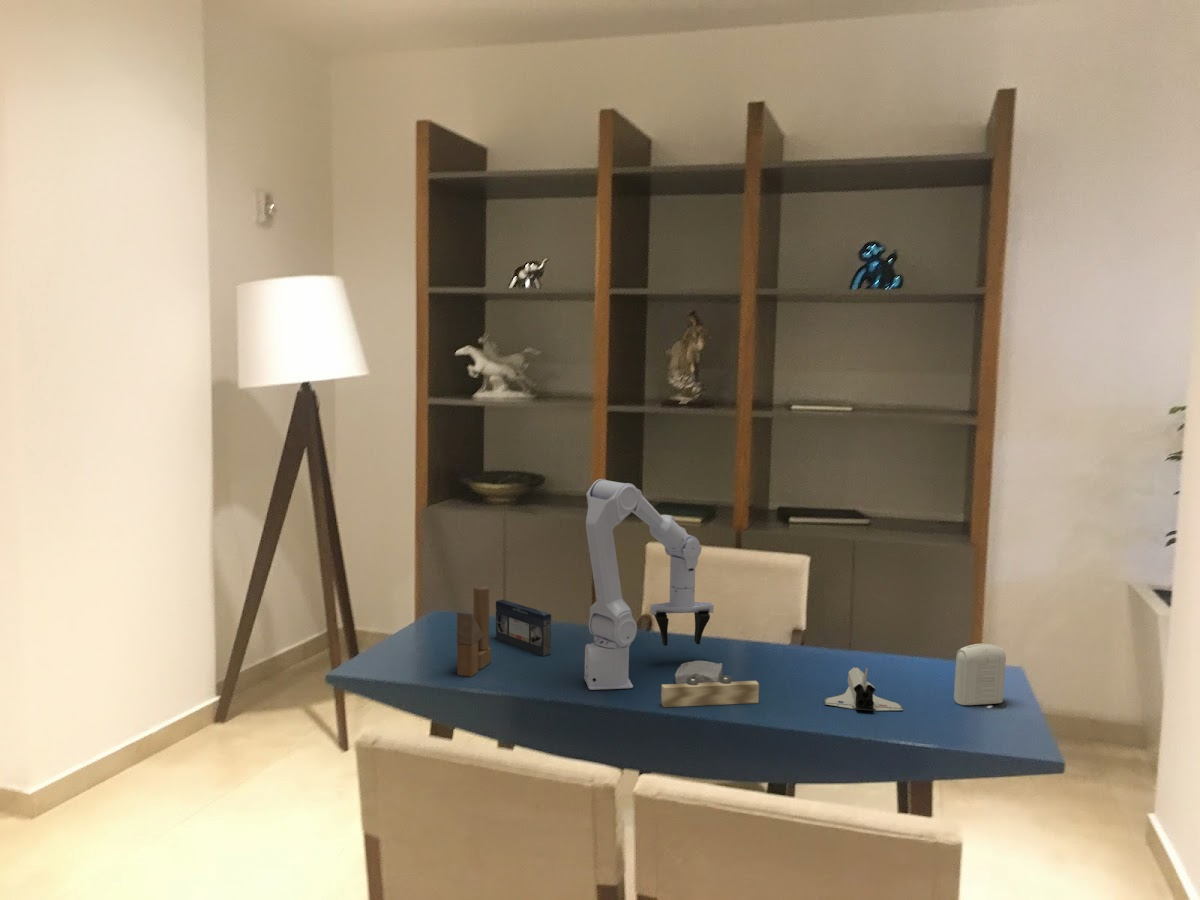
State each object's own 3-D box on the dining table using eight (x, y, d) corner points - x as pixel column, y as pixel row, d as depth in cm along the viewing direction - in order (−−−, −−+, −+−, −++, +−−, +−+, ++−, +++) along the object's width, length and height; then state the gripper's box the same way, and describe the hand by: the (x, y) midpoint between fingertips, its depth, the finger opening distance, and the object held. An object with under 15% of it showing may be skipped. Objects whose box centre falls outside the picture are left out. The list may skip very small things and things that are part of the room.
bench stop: (663, 707, 191) (663, 683, 190) (659, 701, 194) (660, 677, 193) (758, 702, 194) (759, 679, 194) (753, 697, 197) (754, 674, 197)
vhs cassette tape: (495, 639, 235) (495, 600, 234) (504, 637, 237) (504, 598, 236) (541, 657, 221) (542, 616, 220) (551, 655, 223) (552, 614, 222)
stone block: (675, 699, 201) (721, 693, 199) (671, 676, 201) (717, 671, 199) (681, 682, 213) (725, 677, 211) (677, 661, 213) (721, 656, 211)
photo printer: (993, 697, 200) (996, 640, 199) (1006, 704, 196) (1009, 646, 194) (950, 700, 197) (953, 642, 196) (962, 707, 193) (965, 648, 192)
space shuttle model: (888, 678, 212) (890, 635, 211) (905, 720, 187) (908, 671, 186) (818, 673, 214) (819, 630, 213) (825, 714, 190) (827, 665, 189)
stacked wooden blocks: (456, 675, 208) (456, 595, 206) (477, 660, 218) (477, 584, 216) (471, 677, 207) (472, 596, 205) (491, 662, 217) (492, 585, 215)
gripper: (708, 580, 221) (706, 637, 222) (647, 582, 219) (646, 639, 220) (716, 588, 214) (715, 646, 216) (654, 589, 212) (653, 648, 213)
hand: (681, 643), depth 217 cm, fingers open, 7 cm apart
